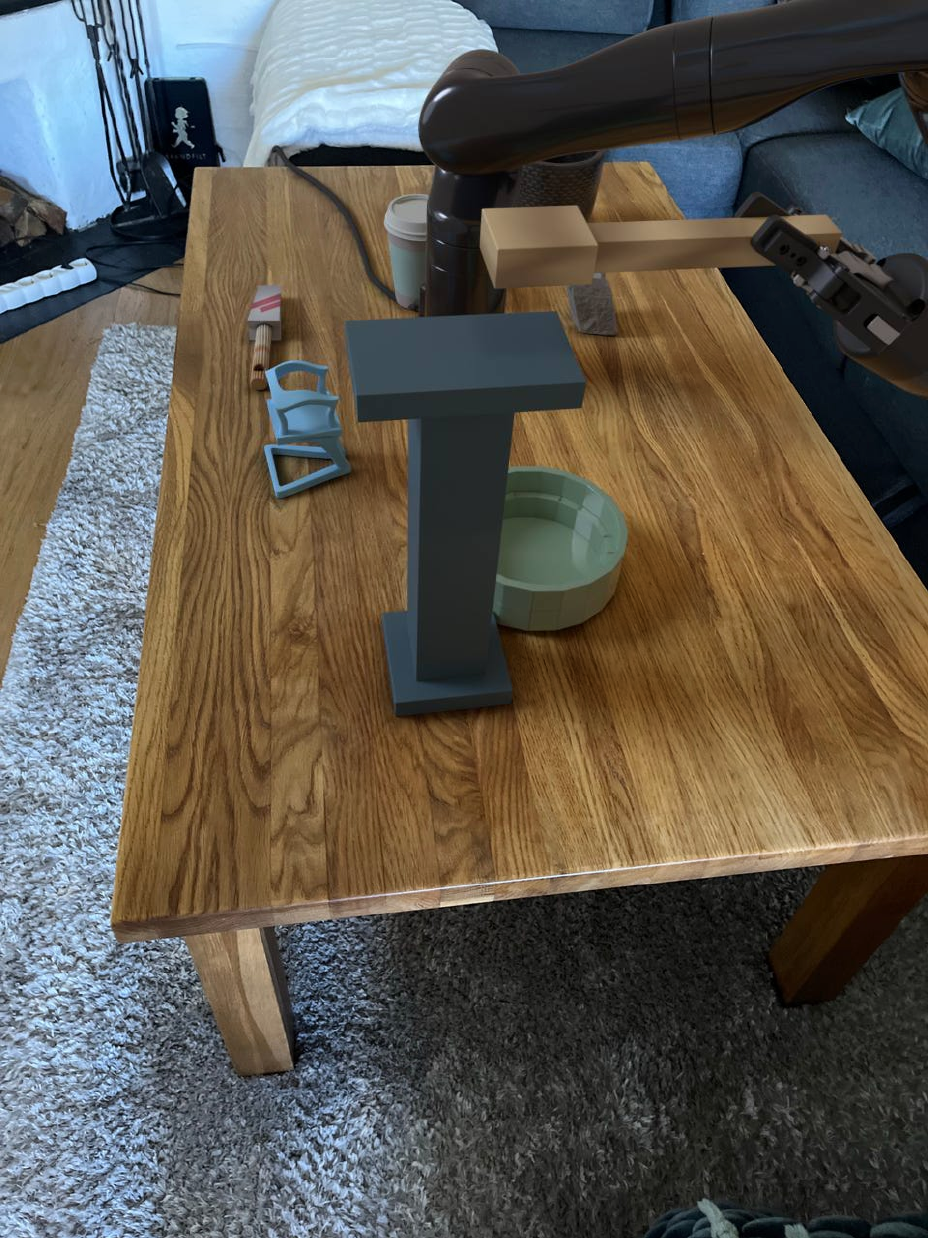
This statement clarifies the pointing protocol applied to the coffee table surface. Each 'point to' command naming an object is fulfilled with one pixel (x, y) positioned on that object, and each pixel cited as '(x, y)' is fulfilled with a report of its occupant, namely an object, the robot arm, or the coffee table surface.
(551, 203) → the planter
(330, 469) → the chair
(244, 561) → the coffee table surface
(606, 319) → the mineral specimen
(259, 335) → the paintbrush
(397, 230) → the coffee cup
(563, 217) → the wooden mallet
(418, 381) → the lectern stand
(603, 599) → the bowl
